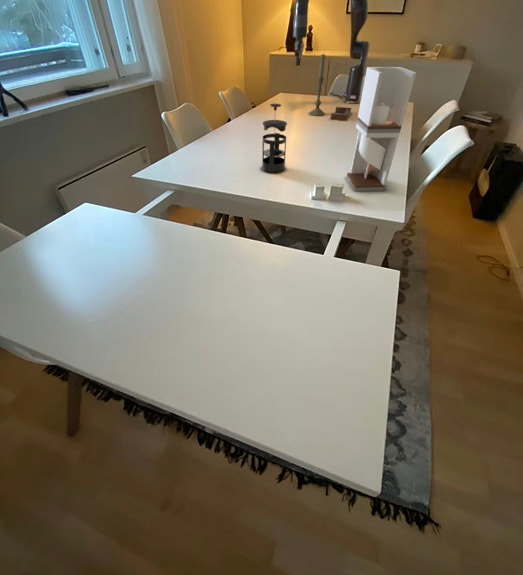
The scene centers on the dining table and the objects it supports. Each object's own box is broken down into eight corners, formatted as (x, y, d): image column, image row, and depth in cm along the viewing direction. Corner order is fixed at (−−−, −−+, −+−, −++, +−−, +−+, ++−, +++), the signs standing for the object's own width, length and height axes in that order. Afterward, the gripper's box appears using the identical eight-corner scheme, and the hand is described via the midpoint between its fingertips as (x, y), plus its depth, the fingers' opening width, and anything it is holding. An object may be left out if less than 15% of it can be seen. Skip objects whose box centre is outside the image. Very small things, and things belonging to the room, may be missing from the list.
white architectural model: (346, 178, 121) (367, 67, 98) (373, 177, 121) (400, 67, 98) (354, 191, 112) (379, 72, 89) (384, 190, 113) (416, 72, 90)
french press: (282, 174, 123) (286, 108, 108) (259, 172, 124) (259, 106, 109) (287, 164, 132) (291, 100, 116) (265, 162, 133) (266, 99, 118)
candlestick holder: (326, 113, 194) (334, 52, 174) (320, 116, 188) (327, 54, 168) (313, 111, 198) (319, 51, 178) (306, 114, 192) (312, 53, 172)
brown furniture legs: (330, 119, 184) (331, 113, 182) (335, 112, 197) (336, 106, 195) (346, 120, 182) (347, 115, 180) (350, 113, 195) (351, 107, 193)
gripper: (296, 25, 175) (294, 63, 186) (290, 26, 165) (288, 66, 177) (309, 25, 173) (306, 64, 184) (304, 26, 164) (301, 67, 175)
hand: (297, 65), depth 181 cm, fingers closed
